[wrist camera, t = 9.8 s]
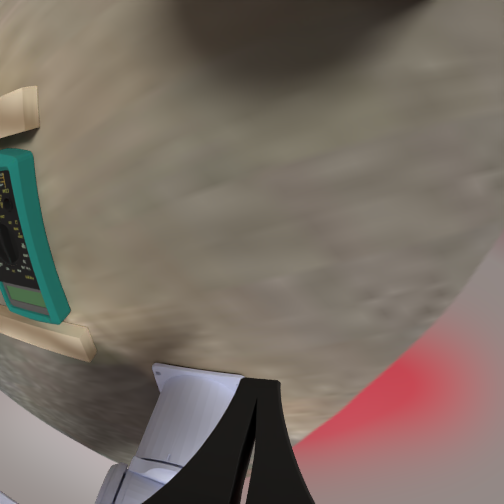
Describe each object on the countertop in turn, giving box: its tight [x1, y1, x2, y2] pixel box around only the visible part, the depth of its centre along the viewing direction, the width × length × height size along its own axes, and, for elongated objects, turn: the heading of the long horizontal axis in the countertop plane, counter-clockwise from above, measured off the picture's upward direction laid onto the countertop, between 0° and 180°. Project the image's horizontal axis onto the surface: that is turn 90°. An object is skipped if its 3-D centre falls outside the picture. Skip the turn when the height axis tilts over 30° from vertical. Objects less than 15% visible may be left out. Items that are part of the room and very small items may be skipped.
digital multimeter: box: [0, 148, 70, 325], centre depth 20 cm, size 7×15×3 cm, turn 179°
